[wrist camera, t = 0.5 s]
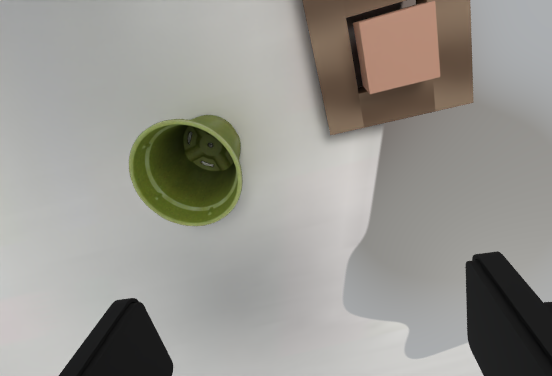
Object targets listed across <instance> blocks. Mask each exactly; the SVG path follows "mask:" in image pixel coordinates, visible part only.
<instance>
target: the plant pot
mask: <svg viewBox="0 0 552 376" xmlns="http://www.w3.org/2000/svg"><path fill="white" fill-rule="evenodd" d="M189 132H192V136H191V141H190V144H189V143H188V134H189ZM208 143H212V144H213V147H209V146H208ZM240 147H241V146H240V139H239V136H238V134H237V133H236V131H235V129H234V128H233V127H232V125H231V124H230V123H229V122H227V121H226V120H224V119H222V118H220V117H217V116H213V115H203V116H199V117H196V118H194V119H191V120H184V119H172V120H166V121H162V122H159V123H156V124H154V125H152V126H151V127H149V128H147V129H146V130H145V131H143V132H142V133H141V134H140V135H139V136H138V138H137V139H136V141H135V142H134V144H133V146H132V149H131V152H130V156H129V172H130V177H131V180H132V183H133V186H134V188H135V190H136V192H137V194H138V195H139V197H140V198H141V199H142V201H143V202H144V203H145V204H146V205H147V206H148V207H149V208H150V209H151V210H153V211H154V212H155V213H157V214H158V215H159V216H161V217H163V218H164V219H166V220H168V221H171V222H174V223H178V224H180V225H186V226H204V225H207V224H211V223H214V222H217V221H219V220H221V219H222V218H224V217H225V216H227V215H228V214H229V213H230V212H231V211H232V209H233V208H234V207H235V205H236V204H237V202H238V199H239V197H240V194H241V189H242V171H241V166H240V163H239V156H240ZM230 155H231V156H230ZM201 161H204V162H206V163H209V164H213V165H214V166H213V167H211V166H205V165H203V164H202V163H201Z"/></svg>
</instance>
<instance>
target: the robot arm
mask: <svg viewBox="0 0 552 376" xmlns="http://www.w3.org/2000/svg"><path fill="white" fill-rule="evenodd" d="M466 293H467V331H468V341H469V345H470V348H471V351H472V353H473V355H474V357H475V359H476V361H477V363H478V365H479V367H480V369H481V371H482V373H483V375H484V376H552V302H544V303H543V302H542V301H541V300H540V298H539V297H538V296H537V295H536V294H535V292H534V291H533V290H532V289H531V288H530V287H529V285H528V284H527V283H526V282H525V281H524V279H523V278H522V277H521V276H520V275H519V274H518V272H517V271H516V270H515V269H514V268H513V266H512V265H511V264H510V263H509V262H508V261H507V260H506V258H505V257H504V256H503V255H502V254H501V253H500V252H491V253H483V254H476V255H474V256H473V259H472V261H467V262H466ZM172 373H173V363H172V360H171V358H170V356H169V354H168V352H167V350H166V348H165V346H164V344H163V342H162V340H161V338H160V336H159V334H158V332H157V330H156V329H155V327H154V325H153V323H152V321H151V319H150V317H149V315H148V313H147V311H146V309H145V307H144V305H143V304H142V303H141V302H139V301H138V300H137V299H135V298H130V299H122V300H117V301H115V302H114V303H113V304H112V305H111V306H110V307H109V309H108V310H107V311H106V313H105V314H104V315H103V317H102V318H101V319H100V321H99V322H98V324H97V325H96V326H95V328H94V329H93V330H92V332H91V333H90V334H89V336H88V337H87V338H86V340H85V341H84V342H83V344H82V345H81V346H80V348H79V349H78V350H77V352H76V353H75V354H74V356H73V357H72V358H71V360H70V361H69V363H68V364H67V365H66V367H65V368H64V369H63V371H62V372H61V373H60V375H59V376H172Z"/></svg>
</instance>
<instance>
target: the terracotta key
mask: <svg viewBox="0 0 552 376" xmlns="http://www.w3.org/2000/svg"><path fill="white" fill-rule="evenodd" d="M353 27H354V33H355V40H356V46H357V52H358V59H359V65H360V71H361V77H362V84H363V87H364V88H365V89H366V90H367V91H368V92H369V94H373V93H377V92H381V91H385V90H389V89H393V88H397V87H401V86H405V85H410V84H414V83H418V82H422V81H426V80H430V79H434V78H438V77H440V63H439V48H438V34H437V19H436V4H435V1H431V2H426V3H421V4H417V5H413V6H410V7H407V8H403V9H399V10H396V11H392V12H389V13H386V14H382V15H379V16H375V17H372V18H368V19H365V20H361V21H358V22H355V23H353Z"/></svg>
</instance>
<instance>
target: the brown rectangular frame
mask: <svg viewBox="0 0 552 376" xmlns="http://www.w3.org/2000/svg"><path fill="white" fill-rule="evenodd" d="M302 1H303V6H304V10H305V15H306V20H307V25H308V30H309V34H310V39H311V44H312V49H313V54H314V58H315V63H316V68H317V73H318V77H319V82H320V87H321V92H322V97H323V101H324V106H325V111H326V116H327V121H328V125H329V130H330V135H334V134H338V133H343V132H347V131H351V130H356V129H360V128H365V127H369V126H373V125H378V124H382V123H386V122H391V121H395V120H400V119H404V118H408V117H413V116H417V115H421V114H426V113H430V112H435V111H439V110H443V109H448V108H452V107H456V106H461V105H465V104H470V103H473V76H472V45H471V11H470V0H416V5H417V4H421V3H426V2H431V1H435V4H436V19H437V34H438V48H439V63H440V77H438V78H434V79H430V80H426V81H422V82H418V83H414V84H410V85H405V86H401V87H397V88H393V89H389V90H385V91H381V92H377V93H373V94H369V92H368V91H367V90H366V89H365V88H364V87H363V86H361V87H357V81H356V75H355V69H354V63H353V57H352V51H351V45H350V39H349V33H348V27H347V21H346V18H348V17H351V16H354V15H358V14H361V13H365V12H368V11H371V10H375V9H378V8H382V7H385V6H388V5H392V4H395V3H399V2H402V1H405V0H302Z"/></svg>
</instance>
